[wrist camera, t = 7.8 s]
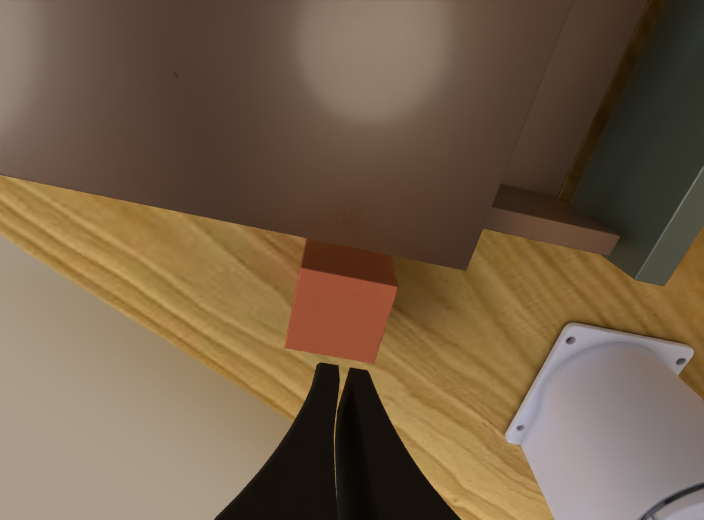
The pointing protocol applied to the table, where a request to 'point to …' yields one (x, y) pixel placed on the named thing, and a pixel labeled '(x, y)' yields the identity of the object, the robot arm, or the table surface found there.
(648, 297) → the table surface
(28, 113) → the cabinet
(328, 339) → the block
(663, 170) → the drawer
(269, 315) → the table surface
